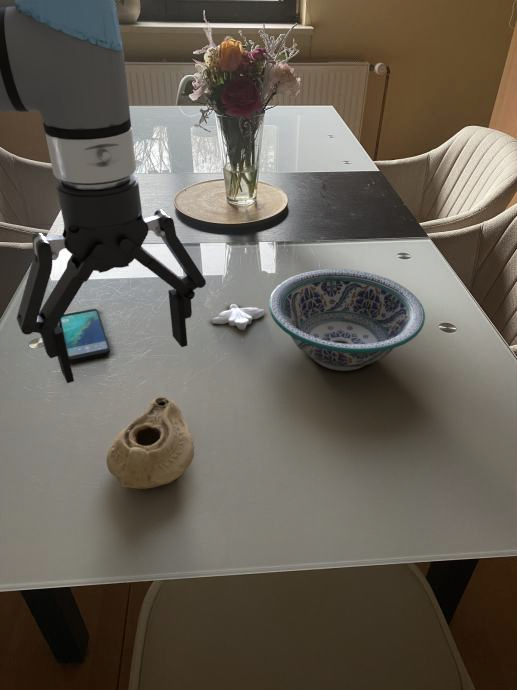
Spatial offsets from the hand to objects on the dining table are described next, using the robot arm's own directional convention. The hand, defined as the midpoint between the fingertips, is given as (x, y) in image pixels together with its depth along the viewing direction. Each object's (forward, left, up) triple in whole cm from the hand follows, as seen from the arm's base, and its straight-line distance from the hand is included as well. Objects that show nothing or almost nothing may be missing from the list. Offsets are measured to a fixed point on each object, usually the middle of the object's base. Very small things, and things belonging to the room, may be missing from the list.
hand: (126, 357), depth 63 cm
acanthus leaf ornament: (+19, +31, -17) cm, 40 cm away
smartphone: (-9, +31, -17) cm, 36 cm away
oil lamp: (+1, -1, -17) cm, 17 cm away
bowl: (+34, +17, -17) cm, 42 cm away
